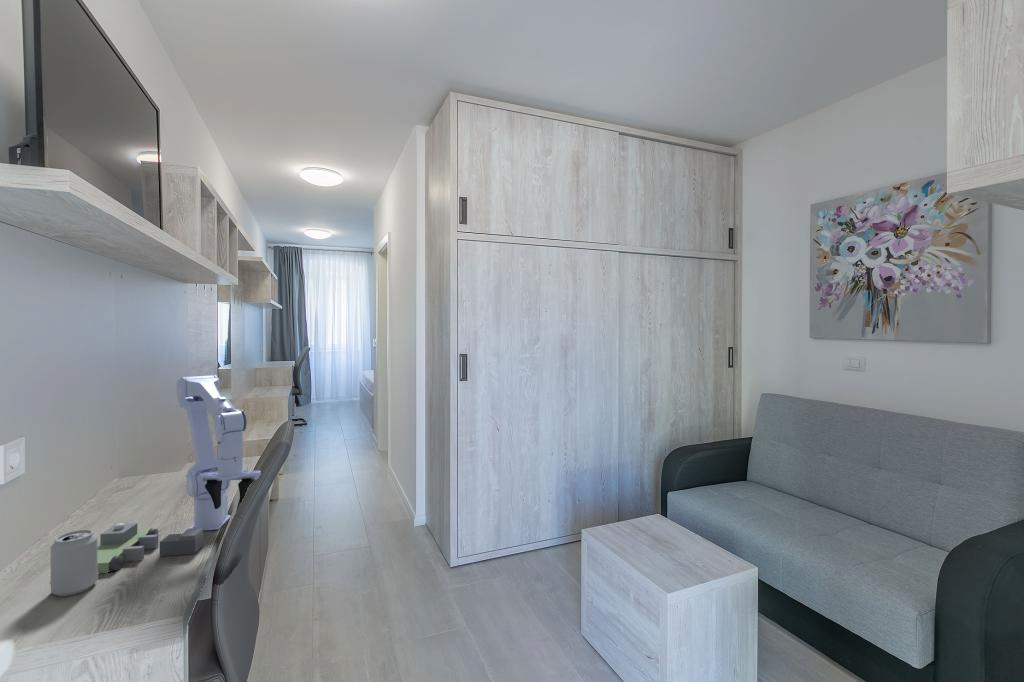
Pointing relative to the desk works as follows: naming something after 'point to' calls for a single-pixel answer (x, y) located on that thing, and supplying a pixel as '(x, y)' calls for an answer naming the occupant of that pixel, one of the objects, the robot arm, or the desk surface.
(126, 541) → the deck
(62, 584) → the can
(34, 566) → the desk surface
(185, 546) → the grey rectangular box
